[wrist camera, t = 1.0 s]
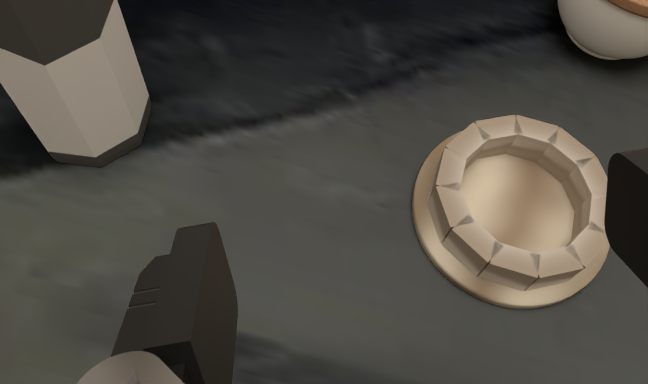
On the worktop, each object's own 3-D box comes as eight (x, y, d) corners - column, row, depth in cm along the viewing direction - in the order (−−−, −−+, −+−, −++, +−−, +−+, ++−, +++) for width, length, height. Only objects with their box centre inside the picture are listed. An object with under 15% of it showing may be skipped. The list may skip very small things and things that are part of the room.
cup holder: (391, 273, 37) (401, 253, 34) (433, 112, 43) (445, 82, 40) (595, 335, 36) (624, 320, 33) (610, 161, 42) (636, 135, 39)
